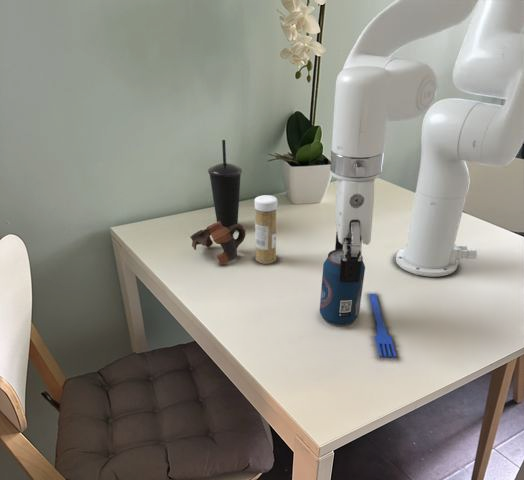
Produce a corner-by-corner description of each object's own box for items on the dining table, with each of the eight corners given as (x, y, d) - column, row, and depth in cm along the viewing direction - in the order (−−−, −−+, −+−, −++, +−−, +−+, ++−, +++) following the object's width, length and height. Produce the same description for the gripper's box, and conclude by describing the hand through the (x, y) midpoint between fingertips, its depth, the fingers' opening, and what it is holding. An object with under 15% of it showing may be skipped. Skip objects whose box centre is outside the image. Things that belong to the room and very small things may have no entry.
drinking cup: (225, 218, 127) (221, 133, 115) (249, 225, 123) (248, 139, 111) (205, 228, 122) (198, 141, 110) (229, 236, 118) (226, 146, 106)
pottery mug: (210, 272, 104) (192, 236, 102) (199, 272, 113) (182, 239, 111) (259, 246, 107) (241, 210, 105) (244, 248, 116) (228, 215, 114)
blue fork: (365, 295, 96) (365, 293, 96) (379, 295, 96) (379, 293, 96) (379, 357, 81) (380, 355, 81) (396, 357, 81) (396, 355, 81)
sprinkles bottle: (280, 261, 108) (281, 199, 100) (262, 266, 106) (262, 204, 98) (268, 253, 111) (269, 192, 103) (251, 258, 109) (250, 197, 101)
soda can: (315, 308, 93) (320, 248, 85) (352, 306, 93) (360, 246, 86) (323, 329, 87) (328, 267, 80) (362, 327, 88) (371, 265, 81)
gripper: (391, 184, 67) (375, 294, 78) (374, 145, 81) (363, 243, 91) (334, 184, 68) (326, 293, 78) (327, 145, 81) (321, 243, 92)
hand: (346, 266), depth 85 cm, fingers open, 9 cm apart
